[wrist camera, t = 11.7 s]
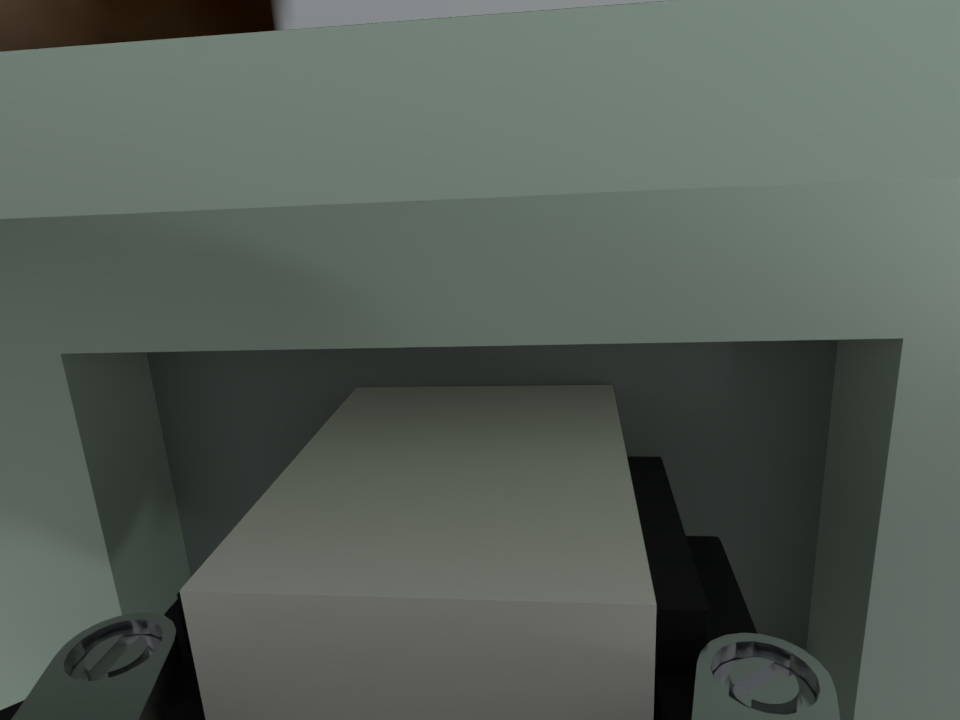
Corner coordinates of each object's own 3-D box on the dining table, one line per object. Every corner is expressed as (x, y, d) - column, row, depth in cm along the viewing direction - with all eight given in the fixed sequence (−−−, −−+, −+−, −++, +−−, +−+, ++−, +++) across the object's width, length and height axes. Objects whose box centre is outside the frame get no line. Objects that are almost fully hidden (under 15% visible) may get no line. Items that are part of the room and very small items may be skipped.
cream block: (612, 384, 12) (656, 604, 6) (611, 609, 13) (647, 964, 7) (356, 386, 12) (179, 590, 7) (379, 602, 14) (247, 927, 8)
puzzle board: (998, 61, 10) (1728, -81, 4) (885, 798, 14) (1147, 1324, 8) (-465, 152, 13) (-1400, 158, 7) (-217, 734, 17) (-666, 1073, 11)
